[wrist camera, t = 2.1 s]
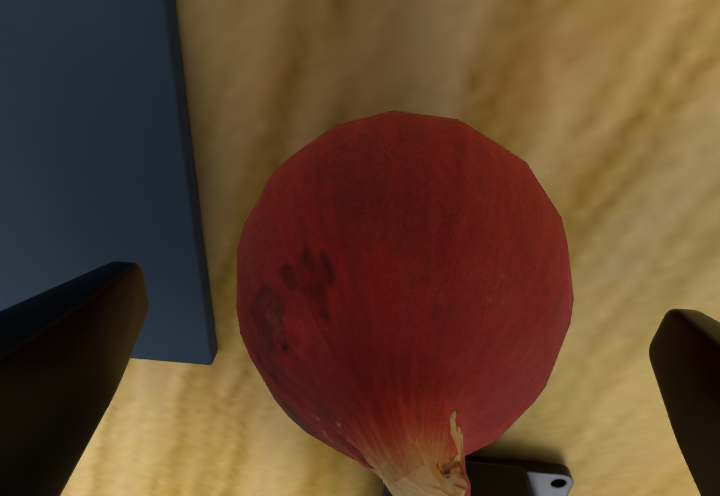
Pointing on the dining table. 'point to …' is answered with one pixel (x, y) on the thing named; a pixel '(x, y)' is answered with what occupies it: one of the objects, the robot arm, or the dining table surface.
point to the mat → (102, 162)
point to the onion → (404, 294)
